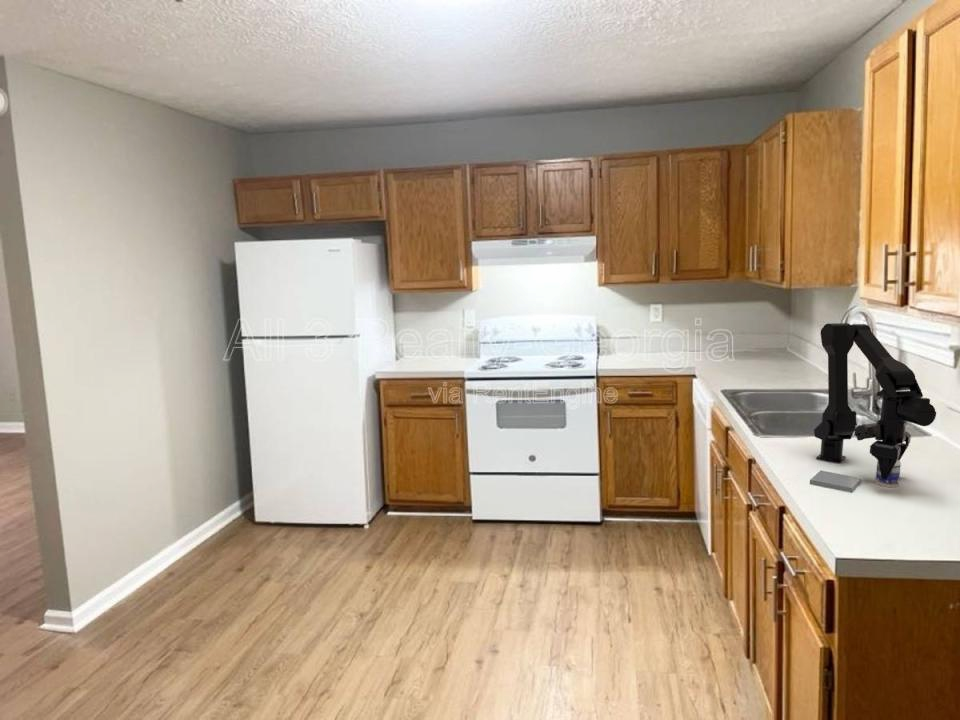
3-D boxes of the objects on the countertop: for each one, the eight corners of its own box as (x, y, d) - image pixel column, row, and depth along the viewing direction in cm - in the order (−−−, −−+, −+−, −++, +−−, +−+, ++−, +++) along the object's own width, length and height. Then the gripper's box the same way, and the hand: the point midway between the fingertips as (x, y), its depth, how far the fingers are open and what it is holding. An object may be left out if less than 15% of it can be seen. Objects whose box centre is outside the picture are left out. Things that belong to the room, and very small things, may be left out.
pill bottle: (870, 482, 187) (873, 449, 185) (885, 479, 188) (888, 447, 187) (888, 488, 182) (891, 455, 180) (903, 486, 184) (906, 453, 182)
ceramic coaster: (820, 474, 193) (820, 470, 192) (860, 482, 186) (861, 478, 186) (809, 484, 185) (810, 479, 185) (851, 492, 179) (852, 488, 178)
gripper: (866, 405, 194) (861, 460, 197) (850, 418, 180) (845, 477, 183) (913, 411, 187) (907, 468, 190) (900, 425, 173) (894, 486, 176)
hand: (887, 474), depth 185 cm, fingers open, 9 cm apart
